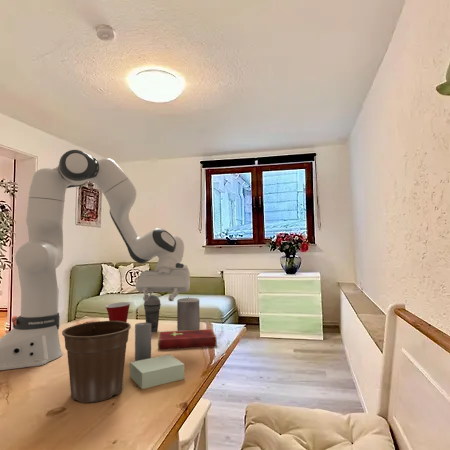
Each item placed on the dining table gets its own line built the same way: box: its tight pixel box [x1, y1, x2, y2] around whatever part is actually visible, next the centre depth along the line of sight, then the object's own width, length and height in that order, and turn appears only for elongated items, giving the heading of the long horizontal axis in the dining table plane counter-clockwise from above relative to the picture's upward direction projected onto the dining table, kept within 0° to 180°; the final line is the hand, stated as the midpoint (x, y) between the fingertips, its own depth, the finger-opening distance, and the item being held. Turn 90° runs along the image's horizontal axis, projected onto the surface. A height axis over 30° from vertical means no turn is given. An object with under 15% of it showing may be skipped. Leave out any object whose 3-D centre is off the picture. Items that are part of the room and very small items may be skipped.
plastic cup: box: [104, 301, 131, 323], centre depth 147 cm, size 11×11×12 cm
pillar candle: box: [176, 296, 201, 331], centre depth 145 cm, size 10×10×15 cm
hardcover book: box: [157, 328, 217, 351], centre depth 126 cm, size 12×21×4 cm, turn 100°
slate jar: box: [134, 322, 152, 361], centre depth 106 cm, size 5×5×12 cm
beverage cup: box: [143, 292, 161, 334], centre depth 145 cm, size 7×7×20 cm
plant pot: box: [61, 320, 132, 404], centre depth 84 cm, size 16×16×16 cm
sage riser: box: [129, 354, 185, 390], centre depth 93 cm, size 12×10×4 cm
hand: (158, 300), depth 119 cm, fingers open, 8 cm apart
